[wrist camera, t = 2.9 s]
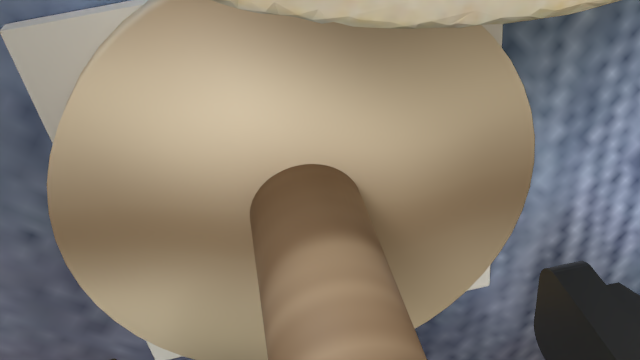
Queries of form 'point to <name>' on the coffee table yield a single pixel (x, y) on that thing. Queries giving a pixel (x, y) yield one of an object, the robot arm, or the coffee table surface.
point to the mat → (72, 57)
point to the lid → (286, 180)
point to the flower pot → (416, 11)
